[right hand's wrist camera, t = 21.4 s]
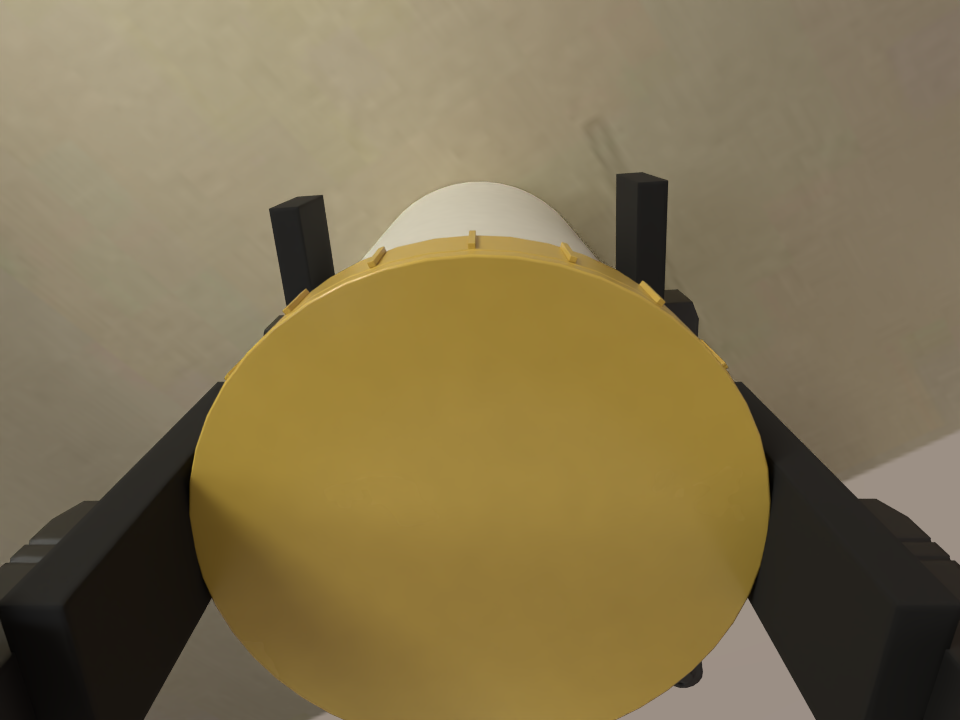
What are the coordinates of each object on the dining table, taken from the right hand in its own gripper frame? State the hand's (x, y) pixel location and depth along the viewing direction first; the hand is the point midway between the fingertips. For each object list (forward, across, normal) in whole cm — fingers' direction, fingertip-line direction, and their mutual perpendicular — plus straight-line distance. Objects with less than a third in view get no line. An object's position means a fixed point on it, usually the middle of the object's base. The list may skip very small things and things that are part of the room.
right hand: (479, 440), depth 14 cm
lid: (-3, 0, 0) cm, 3 cm away
